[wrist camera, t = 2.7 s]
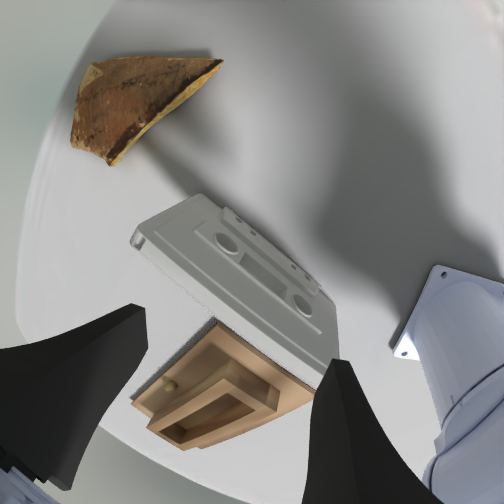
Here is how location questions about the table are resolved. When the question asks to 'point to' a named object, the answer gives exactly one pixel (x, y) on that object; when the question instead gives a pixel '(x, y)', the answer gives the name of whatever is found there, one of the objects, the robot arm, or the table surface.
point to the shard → (132, 99)
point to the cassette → (243, 283)
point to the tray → (219, 392)
